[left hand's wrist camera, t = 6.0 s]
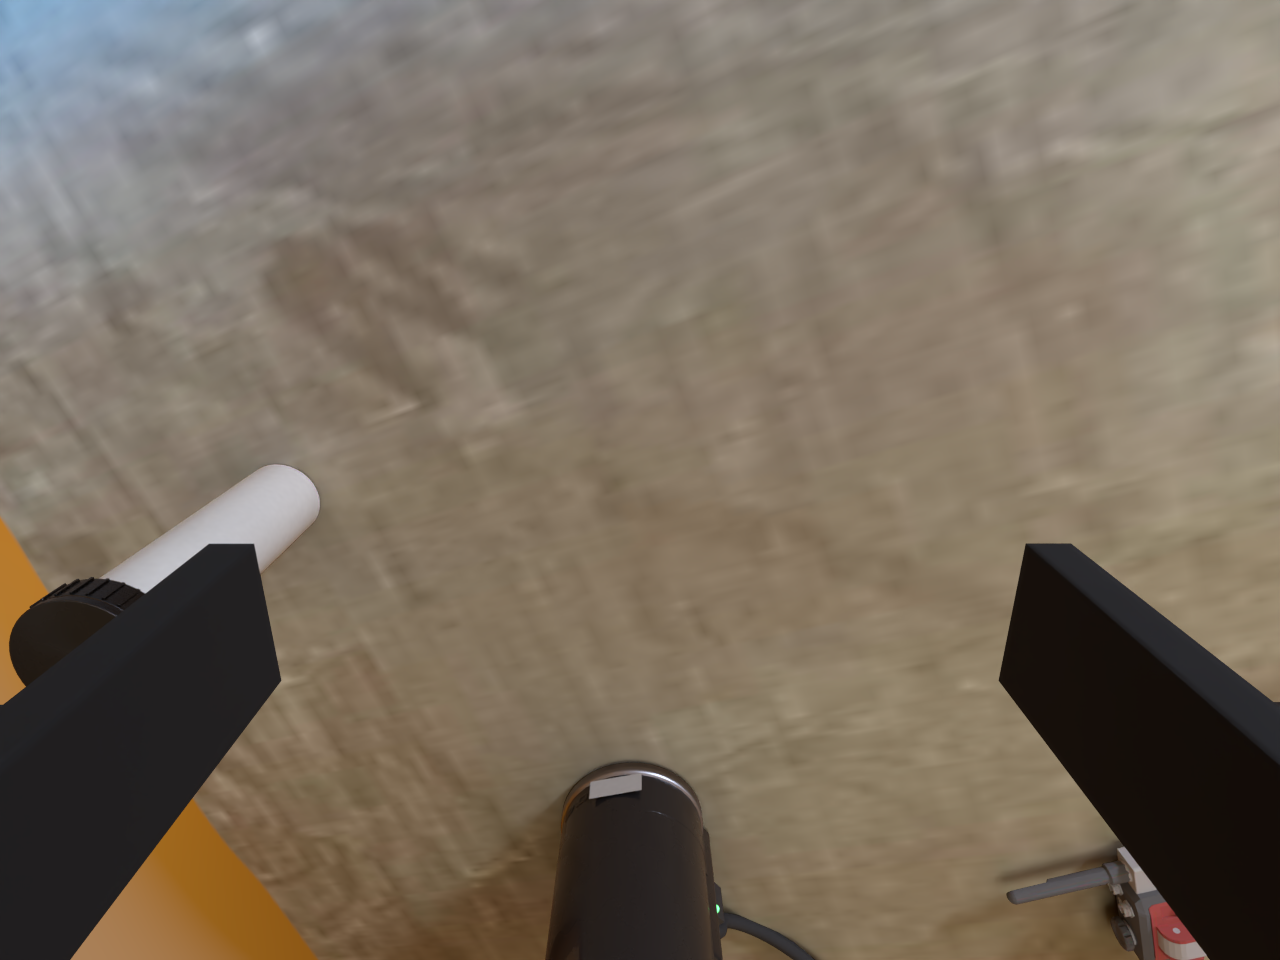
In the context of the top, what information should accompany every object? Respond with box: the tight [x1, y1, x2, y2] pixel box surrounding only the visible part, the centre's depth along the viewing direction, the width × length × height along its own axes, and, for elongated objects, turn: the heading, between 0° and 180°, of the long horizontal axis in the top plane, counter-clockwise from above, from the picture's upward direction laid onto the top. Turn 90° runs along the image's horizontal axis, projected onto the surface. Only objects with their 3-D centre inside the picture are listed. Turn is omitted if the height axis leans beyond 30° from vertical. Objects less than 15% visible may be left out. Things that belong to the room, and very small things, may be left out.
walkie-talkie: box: [1007, 847, 1207, 960], centre depth 50 cm, size 9×4×20 cm
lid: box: [9, 577, 145, 687], centre depth 28 cm, size 5×5×2 cm
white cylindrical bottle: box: [99, 464, 320, 593], centre depth 35 cm, size 4×4×16 cm
